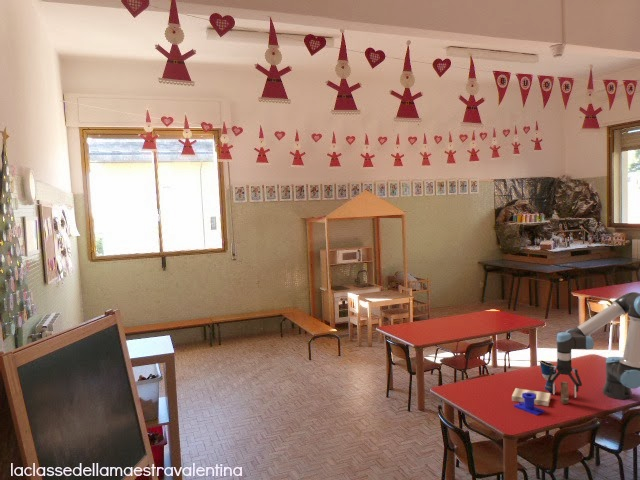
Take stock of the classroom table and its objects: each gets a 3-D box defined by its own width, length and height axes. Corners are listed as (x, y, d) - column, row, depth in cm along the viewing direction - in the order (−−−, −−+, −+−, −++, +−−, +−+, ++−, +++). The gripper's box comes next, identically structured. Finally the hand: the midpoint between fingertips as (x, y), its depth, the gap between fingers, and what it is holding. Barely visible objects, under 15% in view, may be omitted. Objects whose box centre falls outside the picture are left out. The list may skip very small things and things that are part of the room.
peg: (568, 401, 283) (568, 382, 283) (568, 404, 280) (568, 384, 279) (561, 400, 286) (560, 381, 285) (560, 403, 282) (560, 383, 281)
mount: (514, 407, 280) (513, 392, 279) (522, 404, 284) (521, 389, 283) (537, 415, 267) (536, 400, 267) (545, 412, 271) (545, 397, 270)
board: (550, 398, 290) (550, 393, 290) (548, 406, 278) (548, 401, 278) (515, 392, 301) (515, 388, 300) (511, 400, 289) (511, 395, 289)
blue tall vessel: (559, 396, 291) (559, 364, 290) (543, 396, 293) (542, 364, 292) (553, 389, 304) (553, 358, 303) (537, 388, 306) (537, 358, 305)
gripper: (586, 359, 278) (587, 396, 280) (543, 354, 290) (543, 389, 292) (586, 363, 272) (586, 400, 273) (541, 358, 284) (542, 394, 285)
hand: (564, 395), depth 282 cm, fingers open, 11 cm apart
